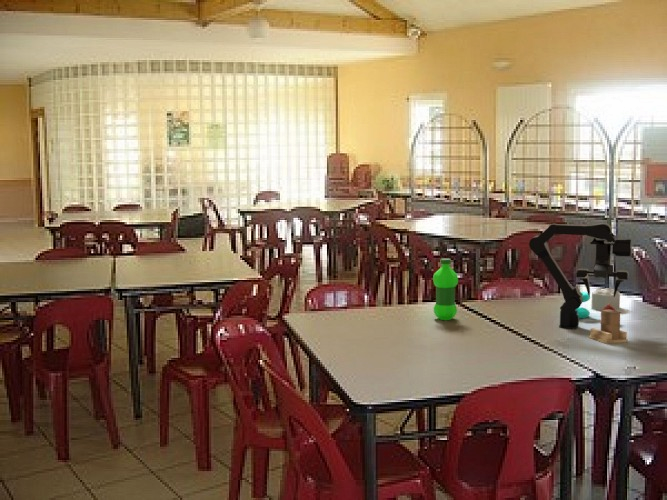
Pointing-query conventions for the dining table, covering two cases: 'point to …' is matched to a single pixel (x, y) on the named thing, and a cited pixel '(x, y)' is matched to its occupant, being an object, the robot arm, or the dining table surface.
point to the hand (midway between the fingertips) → (601, 296)
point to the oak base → (607, 336)
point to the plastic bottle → (445, 291)
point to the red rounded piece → (608, 307)
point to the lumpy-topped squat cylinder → (605, 299)
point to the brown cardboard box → (611, 323)
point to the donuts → (582, 311)
